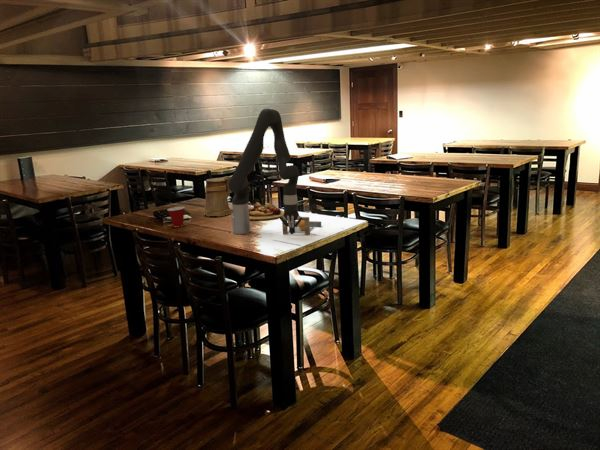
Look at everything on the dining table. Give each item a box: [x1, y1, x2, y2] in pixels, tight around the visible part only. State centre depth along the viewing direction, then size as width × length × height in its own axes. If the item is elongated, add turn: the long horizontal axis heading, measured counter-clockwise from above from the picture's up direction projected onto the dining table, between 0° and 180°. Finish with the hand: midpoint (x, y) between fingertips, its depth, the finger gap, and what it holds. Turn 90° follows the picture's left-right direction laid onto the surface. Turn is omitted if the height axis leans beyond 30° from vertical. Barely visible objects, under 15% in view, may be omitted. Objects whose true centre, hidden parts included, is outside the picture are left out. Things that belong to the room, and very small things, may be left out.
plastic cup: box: [167, 206, 185, 227], centre depth 312 cm, size 11×11×12 cm
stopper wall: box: [295, 220, 322, 228], centre depth 297 cm, size 20×2×3 cm, turn 74°
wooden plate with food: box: [249, 201, 284, 222], centre depth 332 cm, size 32×32×8 cm
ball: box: [298, 220, 305, 230], centre depth 288 cm, size 6×6×6 cm
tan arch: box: [281, 216, 311, 236], centre depth 279 cm, size 3×15×10 cm, turn 74°
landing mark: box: [288, 227, 315, 234], centre depth 289 cm, size 13×13×1 cm
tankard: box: [203, 175, 232, 217], centre depth 342 cm, size 18×24×25 cm
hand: (292, 233), depth 273 cm, fingers closed
